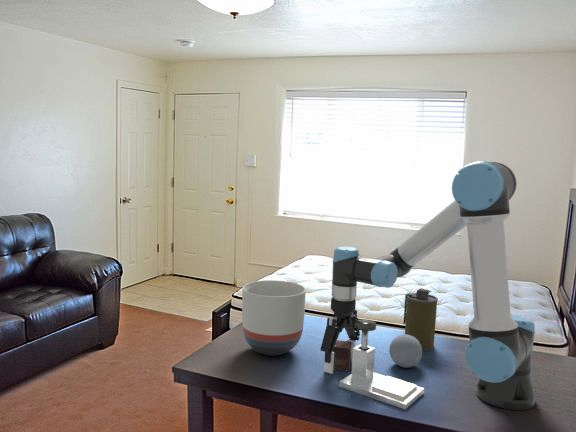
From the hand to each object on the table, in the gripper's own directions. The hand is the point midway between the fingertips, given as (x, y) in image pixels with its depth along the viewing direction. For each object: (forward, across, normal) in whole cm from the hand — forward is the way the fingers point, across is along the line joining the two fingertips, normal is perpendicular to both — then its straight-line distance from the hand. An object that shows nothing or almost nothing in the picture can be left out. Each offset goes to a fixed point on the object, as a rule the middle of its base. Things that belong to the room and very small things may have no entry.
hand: (339, 365), depth 157 cm
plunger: (-5, +6, +11) cm, 13 cm away
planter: (0, +5, -23) cm, 23 cm away
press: (0, +6, +17) cm, 18 cm away
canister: (0, -34, +11) cm, 36 cm away
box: (0, 0, 0) cm, 0 cm away
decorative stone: (0, -14, +15) cm, 21 cm away
